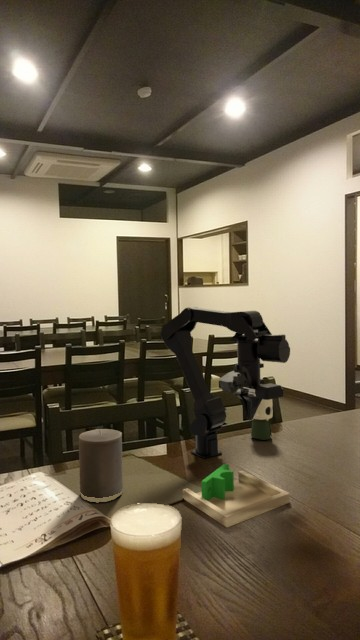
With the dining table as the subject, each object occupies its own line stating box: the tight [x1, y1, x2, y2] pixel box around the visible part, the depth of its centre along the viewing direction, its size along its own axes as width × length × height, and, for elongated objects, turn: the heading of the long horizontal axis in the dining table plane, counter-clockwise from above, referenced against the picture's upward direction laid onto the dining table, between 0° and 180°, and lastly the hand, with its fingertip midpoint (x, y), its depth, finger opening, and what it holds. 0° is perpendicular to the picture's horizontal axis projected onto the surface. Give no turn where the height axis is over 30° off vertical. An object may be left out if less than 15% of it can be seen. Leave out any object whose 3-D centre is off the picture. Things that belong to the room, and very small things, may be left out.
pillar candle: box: [78, 428, 124, 498], centre depth 101 cm, size 10×10×15 cm
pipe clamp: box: [200, 463, 235, 501], centre depth 99 cm, size 11×4×5 cm, turn 148°
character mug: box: [250, 399, 274, 441], centre depth 136 cm, size 11×7×13 cm, turn 153°
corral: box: [182, 470, 291, 528], centre depth 96 cm, size 15×17×2 cm
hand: (250, 419), depth 114 cm, fingers closed
